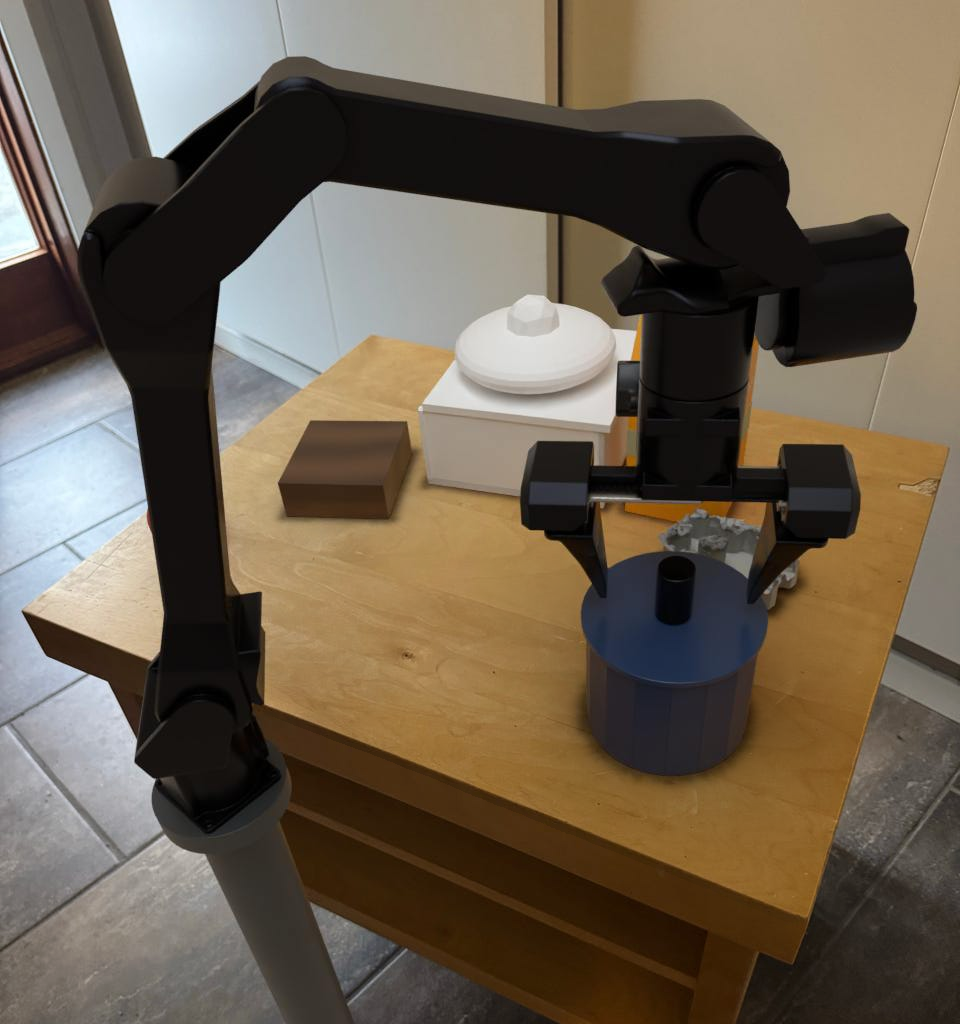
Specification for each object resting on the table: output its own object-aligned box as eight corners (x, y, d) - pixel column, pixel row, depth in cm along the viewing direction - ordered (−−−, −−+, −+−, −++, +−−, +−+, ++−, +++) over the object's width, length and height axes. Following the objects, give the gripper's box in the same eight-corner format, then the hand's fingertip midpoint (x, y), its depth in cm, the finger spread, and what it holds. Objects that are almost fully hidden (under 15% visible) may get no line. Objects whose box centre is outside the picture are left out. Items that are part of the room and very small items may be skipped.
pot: (687, 803, 64) (697, 711, 58) (556, 723, 70) (552, 633, 64) (775, 705, 69) (793, 612, 63) (647, 639, 75) (652, 548, 69)
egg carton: (808, 578, 79) (817, 539, 76) (756, 625, 76) (762, 586, 73) (701, 528, 85) (705, 489, 82) (647, 569, 81) (650, 530, 79)
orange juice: (650, 466, 93) (661, 259, 79) (742, 483, 89) (770, 270, 76) (623, 512, 88) (629, 299, 74) (719, 531, 84) (745, 313, 71)
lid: (697, 726, 58) (704, 670, 54) (544, 636, 64) (540, 581, 60) (801, 611, 63) (814, 554, 60) (650, 539, 69) (653, 483, 66)
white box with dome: (487, 394, 105) (475, 247, 94) (650, 412, 100) (658, 259, 89) (426, 484, 93) (405, 329, 82) (608, 510, 88) (611, 348, 77)
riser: (388, 519, 90) (382, 485, 87) (286, 516, 91) (277, 482, 89) (412, 454, 98) (407, 421, 95) (317, 452, 99) (310, 420, 97)
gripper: (858, 305, 55) (815, 524, 66) (535, 309, 58) (543, 517, 69) (887, 406, 47) (833, 636, 58) (512, 403, 51) (526, 622, 61)
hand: (676, 596), depth 62 cm, fingers open, 9 cm apart
